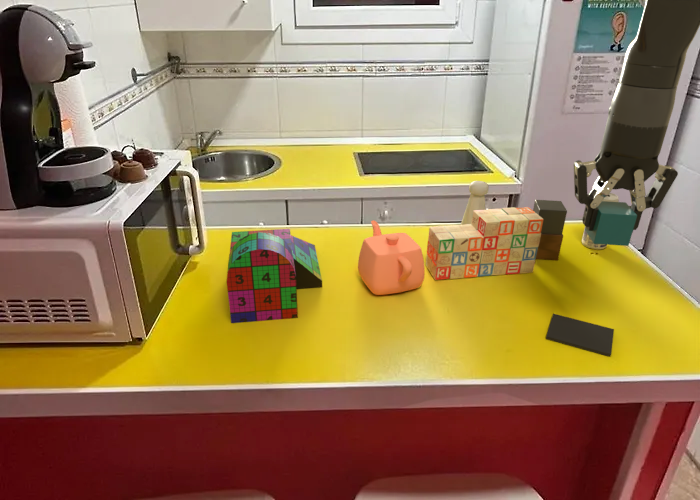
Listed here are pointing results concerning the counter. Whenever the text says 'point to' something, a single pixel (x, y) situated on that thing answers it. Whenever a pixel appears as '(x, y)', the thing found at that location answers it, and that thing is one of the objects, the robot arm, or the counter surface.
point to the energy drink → (586, 239)
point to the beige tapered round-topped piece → (475, 200)
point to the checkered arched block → (269, 274)
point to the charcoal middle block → (551, 215)
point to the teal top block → (613, 224)
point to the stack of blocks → (485, 244)
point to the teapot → (390, 262)
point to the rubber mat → (581, 334)
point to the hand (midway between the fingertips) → (608, 229)
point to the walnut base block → (549, 246)
